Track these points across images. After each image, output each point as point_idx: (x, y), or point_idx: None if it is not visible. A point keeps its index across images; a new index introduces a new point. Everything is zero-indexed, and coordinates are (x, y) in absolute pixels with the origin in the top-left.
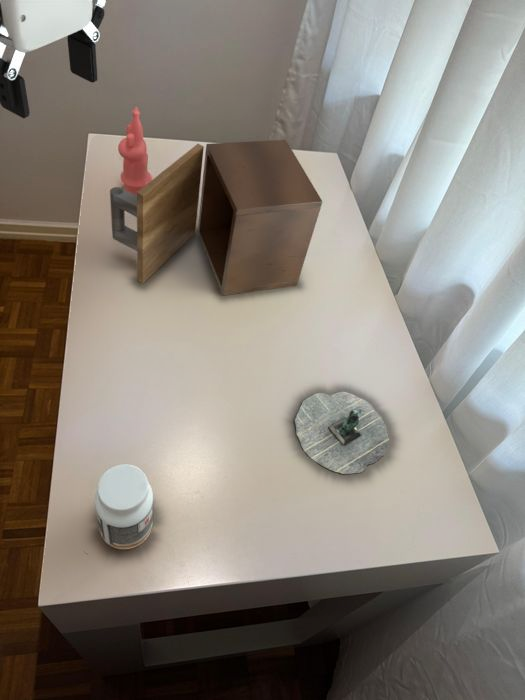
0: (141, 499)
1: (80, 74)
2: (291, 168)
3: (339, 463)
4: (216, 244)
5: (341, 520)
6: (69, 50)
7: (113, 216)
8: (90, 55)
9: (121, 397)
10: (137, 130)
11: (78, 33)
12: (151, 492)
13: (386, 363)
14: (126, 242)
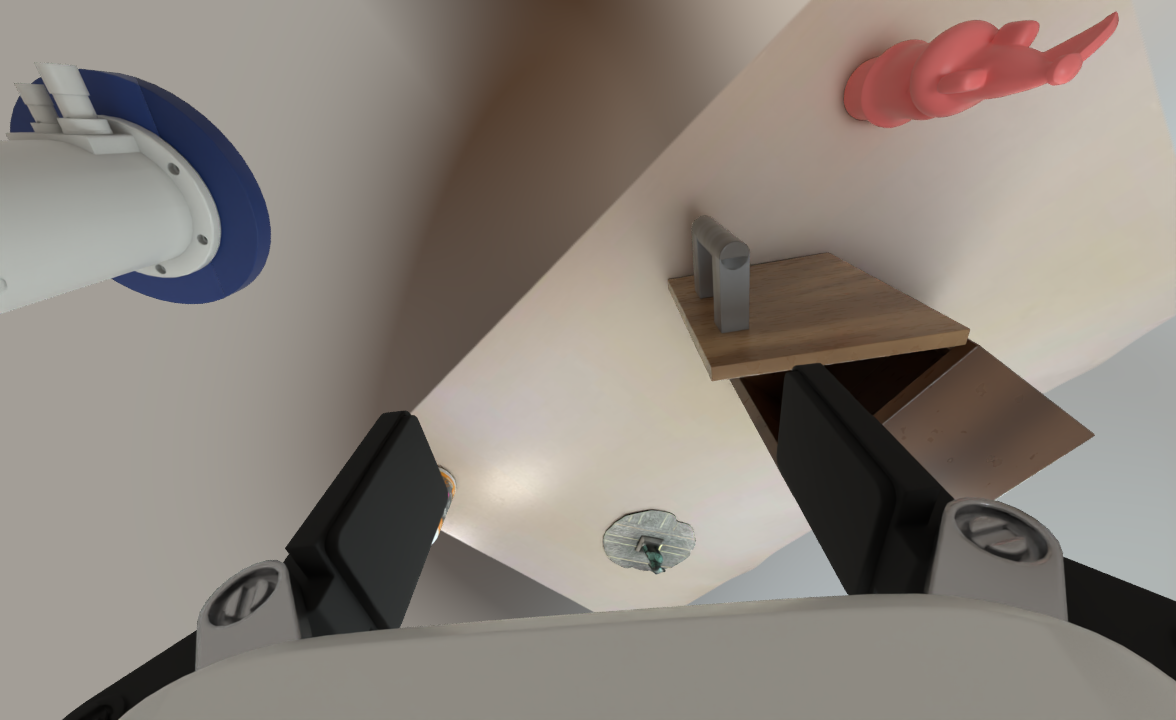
0: None
1: (786, 420)
2: (981, 490)
3: (616, 555)
4: None
5: (574, 572)
6: (836, 438)
7: (704, 242)
8: (831, 563)
9: (513, 396)
10: (1001, 92)
11: (907, 591)
12: (432, 543)
13: (755, 535)
14: (694, 257)
